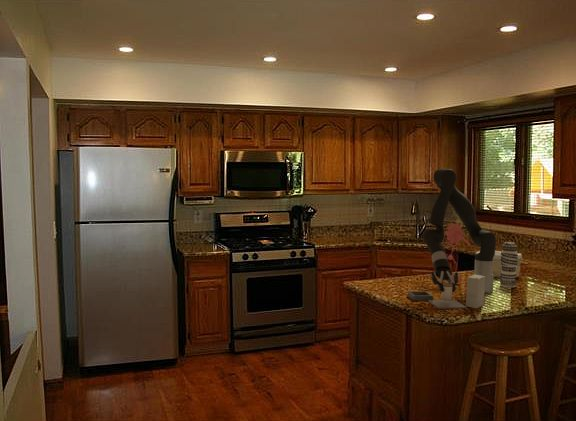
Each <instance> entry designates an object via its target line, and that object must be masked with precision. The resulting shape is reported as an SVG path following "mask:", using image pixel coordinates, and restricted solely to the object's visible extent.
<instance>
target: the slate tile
mask: <svg viewBox="0 0 576 421" xmlns="http://www.w3.org/2000/svg"><path fill="white" fill-rule="evenodd" d="M427 302H428V303H429V304H431V305H432V306H433V307H435V308H436V309H437V310H440V309H443V310H446V309H449V310H450V309H467V306H466V305H464V304H463V303H461V302H459V301H458V300H456V299H452V300H451V301H444V300H441V299H433V300H428V301H427Z"/></svg>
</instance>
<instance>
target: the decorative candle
mask: <svg viewBox="0 0 576 421" xmlns="http://www.w3.org/2000/svg"><path fill="white" fill-rule="evenodd" d="M517 248H518V245H517V244H516V243H515V242H512V241H504V243H503V244H502V250H501V252H502V253H501V255H502V256H501V261H502V262H501V266H502V270H501V273H500V274H501V276H500V277H501V278H499V280H500V281H499V283H500V284H499V286H501V287H503V288H516V286H517V283H516V282H517V277H515V276H516V267H517V263H516V262H517V261H516V259H518V258H517V256H518V255H517V253H518V250H517Z"/></svg>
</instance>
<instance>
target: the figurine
mask: <svg viewBox="0 0 576 421" xmlns="http://www.w3.org/2000/svg"><path fill="white" fill-rule="evenodd" d="M444 235H445V236H447V237H446V239H447V241H445V242H443V241H442V242H441V243H440V244H447V245H450V246H451V247H452V250H451V253H450V255H448V256H447V259H448V261H449V260H450V261H451V260H452V261H454V263H455V268H457V266H458V265H457V264H458V263H457V262H456V261H455V260H454V257H453V252H454V249H455V248H456V246H457V245H458V244H459V243H460V241H462V240H463V241H464V242H465V243H466V244H467V245H468V246H469V247H471V246H472V245H471V244H470V243H469V242H468V241H467V239H466V238H464V237H463V236H464V235H465V233H464V231H463V230H462V225H459V223H455V224H454V223H453V222H450V223H449V226H447V231H445V232H444ZM454 243H455V245H454ZM456 272H457V270H455V271H454V273H456ZM452 278H453V280H454V277H452ZM463 282H465V283H466V281H463ZM457 283H458V284H460V285H461V284H462V280H461V279H460V277H459V276H458V282H457Z"/></svg>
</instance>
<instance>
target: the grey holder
mask: <svg viewBox="0 0 576 421" xmlns="http://www.w3.org/2000/svg"><path fill="white" fill-rule="evenodd" d="M407 297H408V298H409V299H411V300H412V301H413V302H426V301H427V302H428V300H434V295H433V294H431V293H429V292H428V291H427V290H425V291H424V290H422V291H419V290H417V291H415V290H413V291H410V290H409V291H407Z"/></svg>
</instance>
